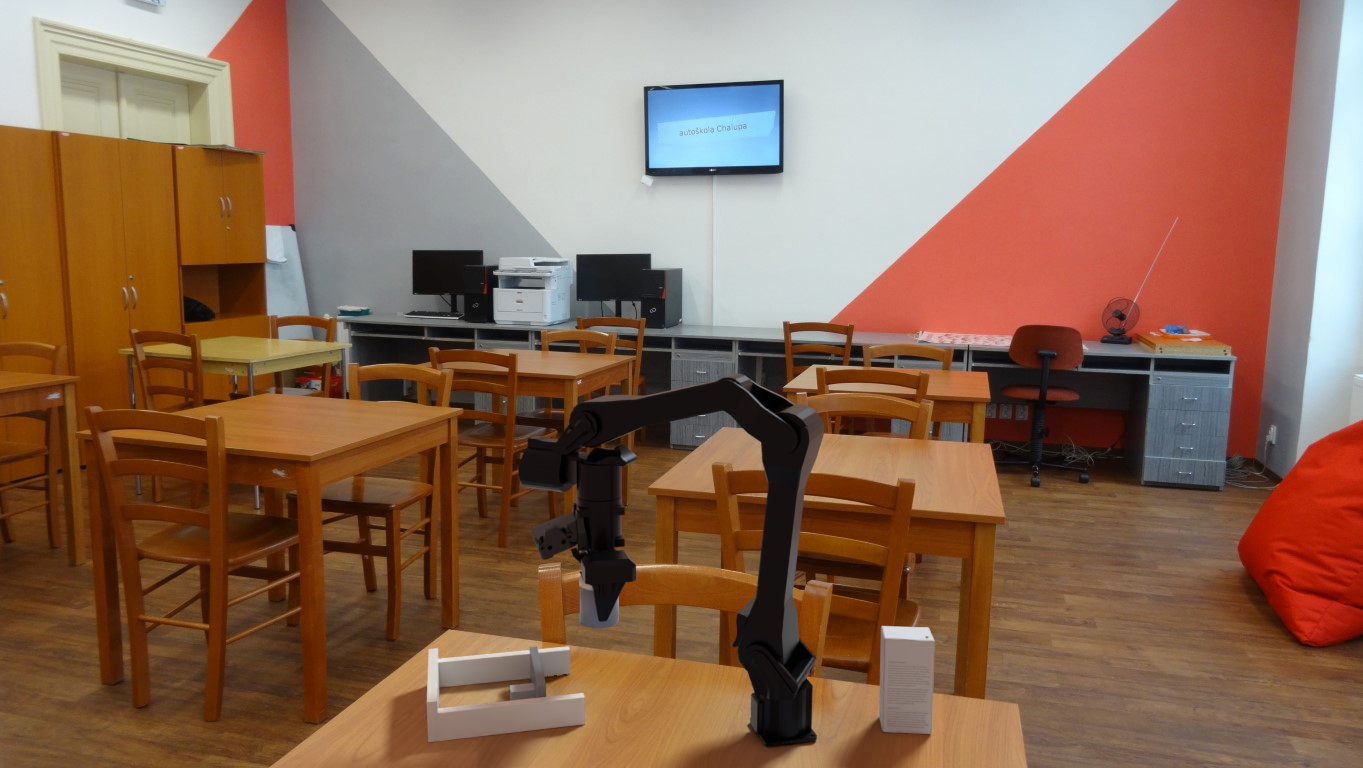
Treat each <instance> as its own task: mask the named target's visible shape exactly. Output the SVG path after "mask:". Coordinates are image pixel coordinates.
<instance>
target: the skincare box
mask: <svg viewBox="0 0 1363 768" xmlns="http://www.w3.org/2000/svg"><path fill="white" fill-rule="evenodd" d="M935 648H936V640H935V638H934V636H933V634H932V632H931V629H930V628H929V627H927V626H926V627H921V626H920V627H919V626H918V627H916V626H891V625H881V626H880V654H879V655H880V657H879V659H880V660H879V661H880V663H879V666H880V667H879V696H878V697H879V702H878V703H879V704H878V705H879V706H878V707H879V708H878V716H879V717H878V718H879V721H880V726H881V731H882V732H883V733H896V734H898V733H899V734H917V735H918V734H920V735H921V734H922V735H931V734H932V732H933V709H934V708H933V706H934V705H933V703H934V684H935V683H934V682H935V681H934V679H935V677H934V676H935V674H934V673H935Z"/></svg>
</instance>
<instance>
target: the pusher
mask: <svg viewBox="0 0 1363 768" xmlns="http://www.w3.org/2000/svg"><path fill="white" fill-rule="evenodd" d="M538 649H539V648H538V646H537V645H536V646H530V647H529V650H530V678H529V679H530V682H527V683H520V684H512V685H511V684H510V685H509V696H510V697H509V698H510V701H512V700H522V699H531V698H540V697H547V684H546V679H545V678H546V677H544V674H543V670H542V666H541V661H540V657H539V653H538Z"/></svg>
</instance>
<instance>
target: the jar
mask: <svg viewBox="0 0 1363 768" xmlns="http://www.w3.org/2000/svg"><path fill="white" fill-rule="evenodd" d="M578 585H579V623H580V625H582V626H583V627H587V628H591V629H605V628H606V629H608V628H611V627H614V626H616V625H617V624H618V623H619V621H620V620H619V618H620V617H619V616H620V613H619V612H620V607H619V606H620V603H619V602H620V596H619V597H618V599H617V601H616V603H615V605H614V607H613V609H612V612H611V614H610V616H609V618H608V620H607V621H604V622H600V621H599V620H598V616H597V611H596V606H595V600H594V595H593V590H592V586H591V585H588V584H585V582H584V580H583V579H582V577H581V575H579V577H578Z"/></svg>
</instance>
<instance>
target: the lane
mask: <svg viewBox="0 0 1363 768" xmlns="http://www.w3.org/2000/svg"><path fill="white" fill-rule="evenodd" d="M538 653H539V657H540V661H541V666H542V670H543V674H544V678H546V677H547V676H548V677H555V676H554V675H557V676H563V675H562V674H567V675H571V649H570V646H569V645H567V646H559V647H547V648H538ZM427 660H428V661H427V685H426V686H427V689H426V717H427V722H426V723H427V742H428V743H432V742H433V743H434V742H442V741H451V740H458V739H467V738H477V737H487V736H495V735H496V736H497V735H502V734H511V733H521V732H530V731H535V730H536V731H537V730H547V729H555V728H563V727H571V726H572V727H573V726H581V725H586V697H585V693H584V692H579V693H570V694H561V695H552V696H551V695H550V696H546V697H540V698H531V699H522V700H512V701H511V700H505V701H504V700H503V701H495V702H487V703H476V704H466V705H458V706H457V705H456V706H449V707H440V688H447V687H449V688H450V687H457V686H466V685H467V686H468V685H479V684H486V683H496V682H498V683H499V682H507V681H516V680H526V679H528V680H529V679H530V649H528V650H527V649H526V650H517V651H507V652H505V651H504V652H496V653H495V652H494V653H488V654H487V653H486V654H475V655H474V654H472V655H464V656H454V657H453V656H452V657H444V658H443V657H441V658H439V648H438V647H435V648H428V659H427Z"/></svg>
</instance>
